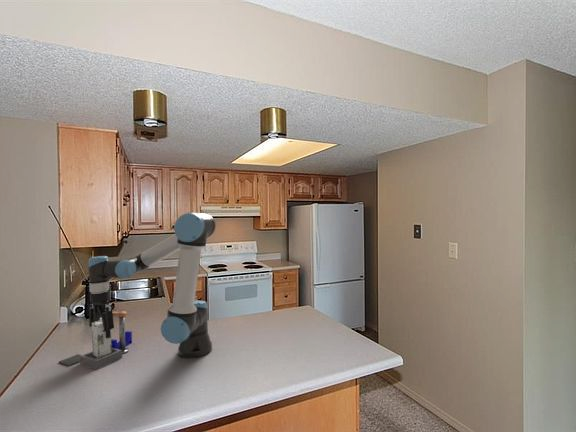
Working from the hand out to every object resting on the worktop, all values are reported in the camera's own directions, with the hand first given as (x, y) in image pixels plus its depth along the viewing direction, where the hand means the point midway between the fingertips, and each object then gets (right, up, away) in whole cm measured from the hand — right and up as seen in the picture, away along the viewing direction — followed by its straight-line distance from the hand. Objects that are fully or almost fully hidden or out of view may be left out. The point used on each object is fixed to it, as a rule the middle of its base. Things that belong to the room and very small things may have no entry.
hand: (102, 343), depth 137 cm
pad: (-13, -8, +1) cm, 16 cm away
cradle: (0, -8, 0) cm, 8 cm away
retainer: (-2, +8, +10) cm, 13 cm away
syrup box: (0, -5, 0) cm, 5 cm away
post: (+4, -7, +9) cm, 12 cm away
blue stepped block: (0, -8, +14) cm, 16 cm away
